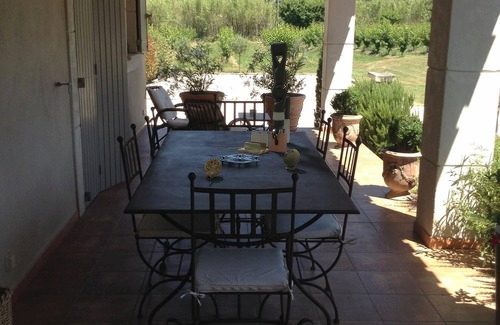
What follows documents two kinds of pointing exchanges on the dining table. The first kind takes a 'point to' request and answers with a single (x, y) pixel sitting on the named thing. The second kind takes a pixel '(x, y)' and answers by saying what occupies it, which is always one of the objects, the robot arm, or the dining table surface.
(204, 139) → the dining table surface
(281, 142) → the tall salmon pink block
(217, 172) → the pine cone
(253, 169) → the dining table surface
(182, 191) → the dining table surface
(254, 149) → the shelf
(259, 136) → the ink box
